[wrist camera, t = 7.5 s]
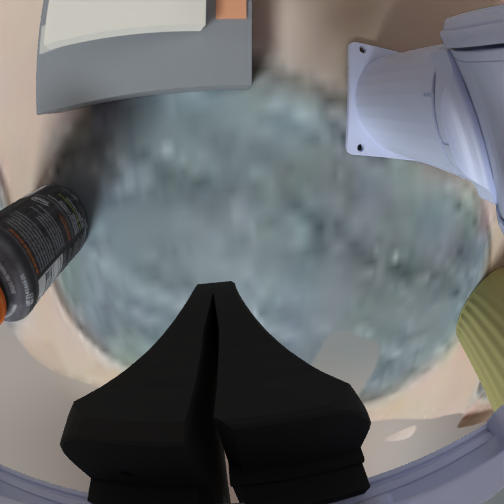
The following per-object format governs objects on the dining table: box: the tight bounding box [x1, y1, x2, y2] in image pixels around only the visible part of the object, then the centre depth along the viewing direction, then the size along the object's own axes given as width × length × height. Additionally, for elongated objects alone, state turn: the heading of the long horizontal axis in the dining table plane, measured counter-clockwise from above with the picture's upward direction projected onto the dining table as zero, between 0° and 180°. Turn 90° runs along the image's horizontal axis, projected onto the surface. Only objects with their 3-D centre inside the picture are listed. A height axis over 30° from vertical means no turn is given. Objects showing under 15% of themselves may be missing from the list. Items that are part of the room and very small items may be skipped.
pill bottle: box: [0, 184, 88, 324], centre depth 14 cm, size 6×6×11 cm
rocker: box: [44, 0, 206, 49], centre depth 10 cm, size 8×4×1 cm, turn 90°
